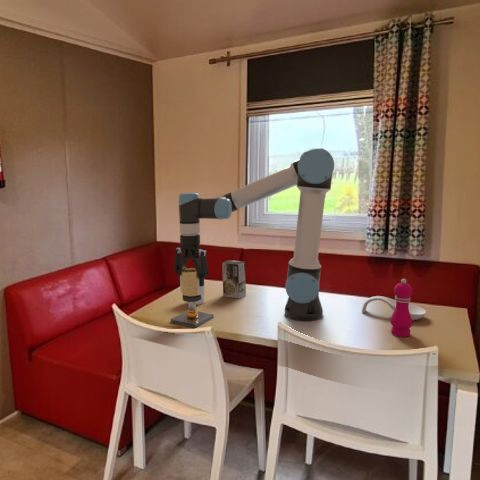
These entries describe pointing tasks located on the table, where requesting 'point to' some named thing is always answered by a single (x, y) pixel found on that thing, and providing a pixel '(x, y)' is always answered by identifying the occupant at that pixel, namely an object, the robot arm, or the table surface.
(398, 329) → the pepper mill
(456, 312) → the table surface
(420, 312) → the white curved piece
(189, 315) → the pipe stand
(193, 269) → the sleeve
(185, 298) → the ring
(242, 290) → the coffee box
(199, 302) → the white cup
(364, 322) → the table surface
